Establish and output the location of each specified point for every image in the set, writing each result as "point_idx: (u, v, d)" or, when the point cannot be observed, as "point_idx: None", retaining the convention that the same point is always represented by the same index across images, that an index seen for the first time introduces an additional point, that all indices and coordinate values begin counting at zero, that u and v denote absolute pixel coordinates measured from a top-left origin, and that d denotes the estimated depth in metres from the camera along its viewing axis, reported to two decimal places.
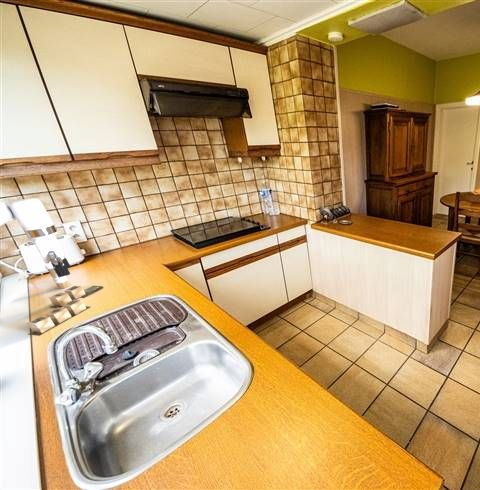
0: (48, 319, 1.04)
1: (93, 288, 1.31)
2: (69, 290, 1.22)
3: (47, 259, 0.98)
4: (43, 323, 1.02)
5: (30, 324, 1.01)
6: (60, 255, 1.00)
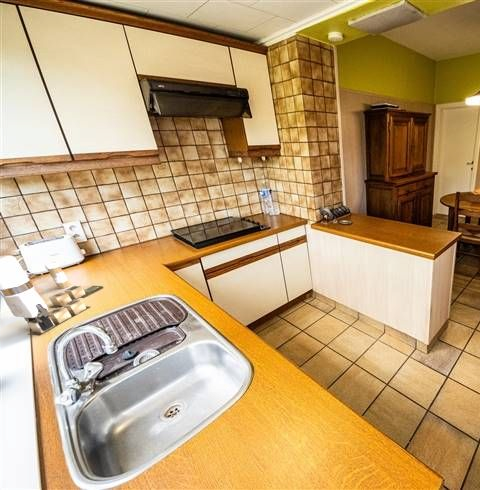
0: None
1: (93, 288, 1.31)
2: (69, 290, 1.22)
3: (35, 312, 0.98)
4: None
5: (30, 324, 1.01)
6: (46, 306, 1.01)
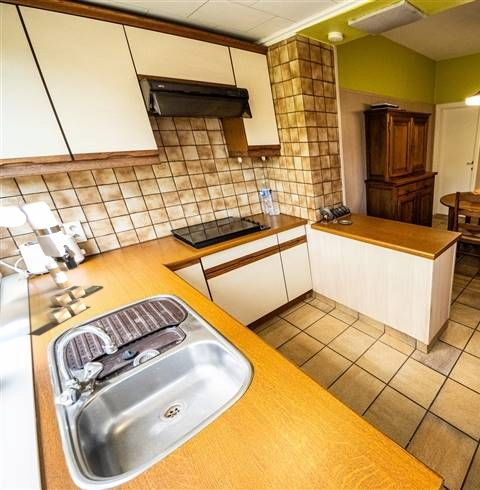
0: None
1: (93, 288, 1.31)
2: (69, 290, 1.22)
3: (63, 252, 1.14)
4: None
5: (58, 263, 1.17)
6: (72, 248, 1.17)
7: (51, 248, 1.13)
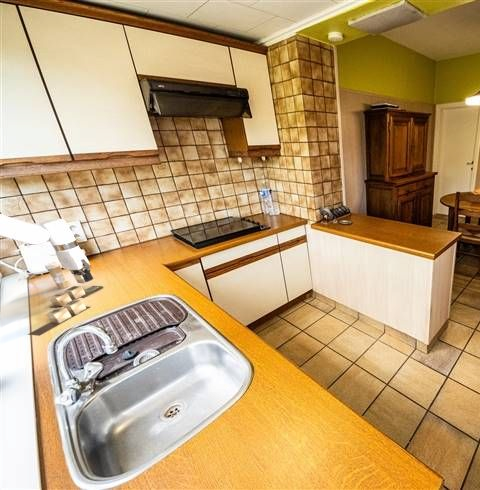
0: None
1: (93, 288, 1.31)
2: (69, 290, 1.22)
3: (80, 265, 1.22)
4: None
5: (76, 276, 1.25)
6: (88, 261, 1.25)
7: (69, 262, 1.21)
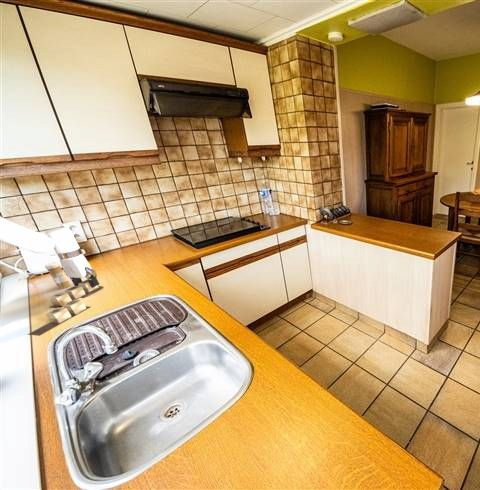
0: None
1: None
2: (69, 290, 1.22)
3: (84, 273, 1.24)
4: None
5: (80, 284, 1.27)
6: None
7: (73, 270, 1.22)
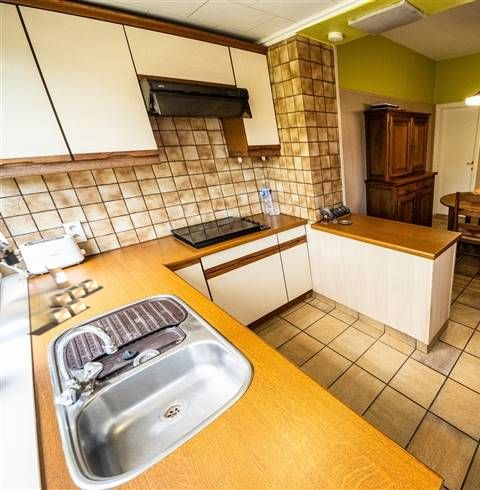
0: (93, 281, 1.30)
1: None
2: (69, 290, 1.22)
3: None
4: (90, 284, 1.28)
5: (80, 284, 1.27)
6: None
7: None
